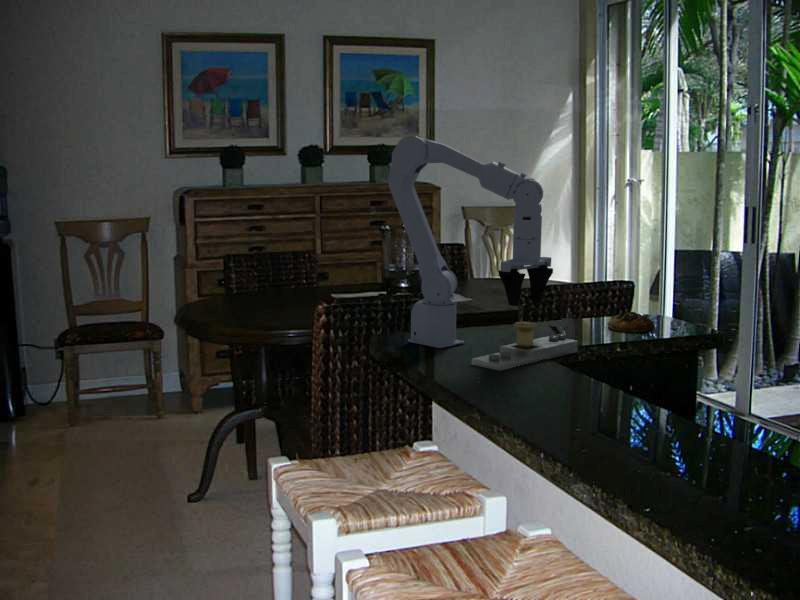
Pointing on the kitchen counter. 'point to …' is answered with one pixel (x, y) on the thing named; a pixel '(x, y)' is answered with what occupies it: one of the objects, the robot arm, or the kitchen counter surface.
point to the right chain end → (545, 347)
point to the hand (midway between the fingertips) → (525, 303)
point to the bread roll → (631, 323)
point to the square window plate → (505, 360)
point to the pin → (525, 334)
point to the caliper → (565, 325)
